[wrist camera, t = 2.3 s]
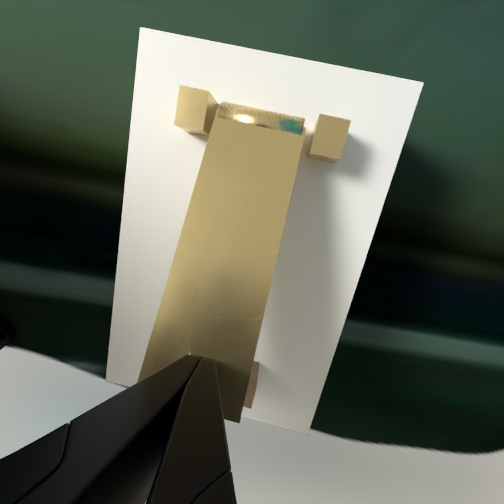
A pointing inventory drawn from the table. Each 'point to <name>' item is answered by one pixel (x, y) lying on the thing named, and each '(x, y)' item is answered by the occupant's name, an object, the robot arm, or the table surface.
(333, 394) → the table surface
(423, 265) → the table surface
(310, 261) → the box
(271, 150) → the brass clasp lever
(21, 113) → the table surface
